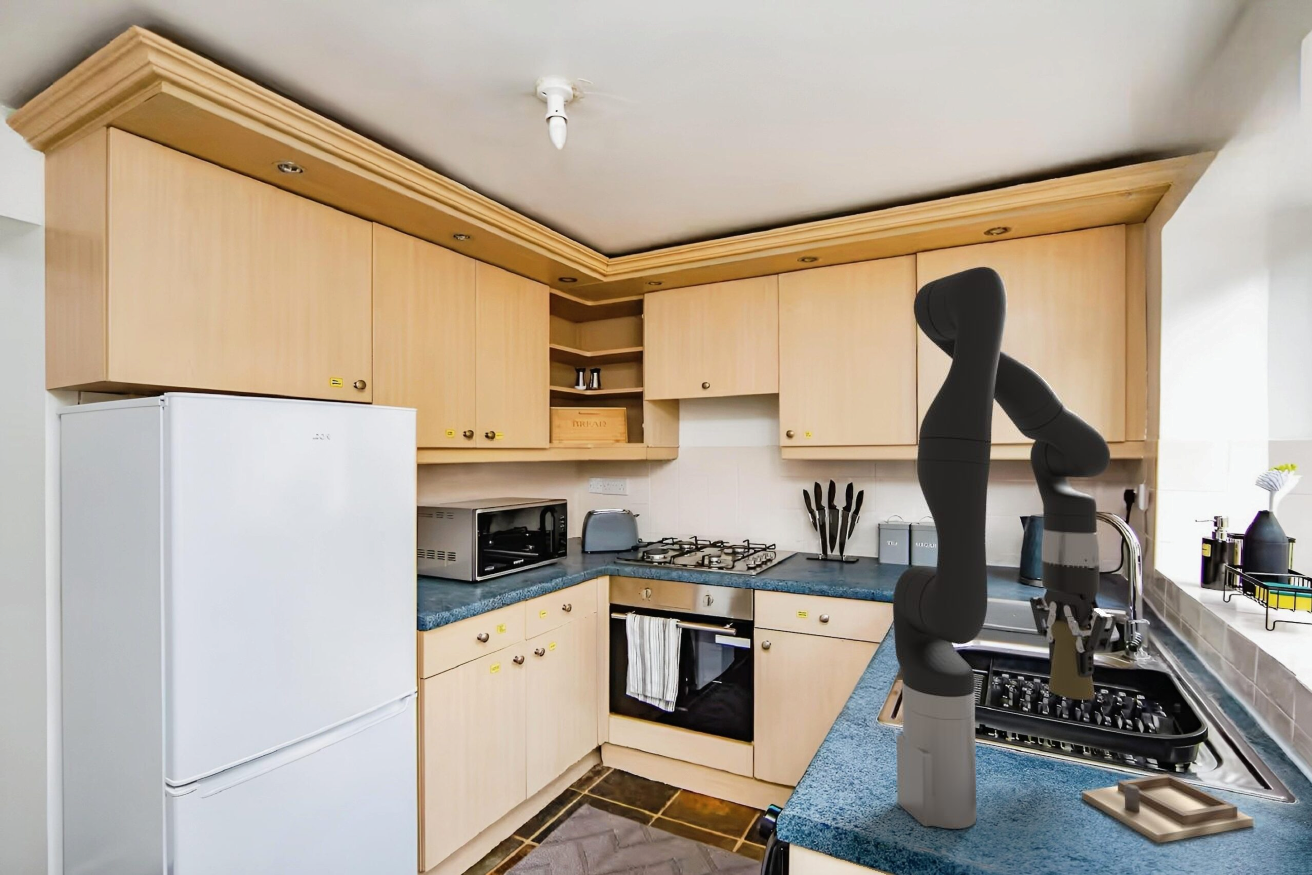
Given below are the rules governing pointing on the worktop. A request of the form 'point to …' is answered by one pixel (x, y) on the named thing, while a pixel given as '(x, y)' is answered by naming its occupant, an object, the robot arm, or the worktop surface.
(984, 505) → the robot arm
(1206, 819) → the socket plate
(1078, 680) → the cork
